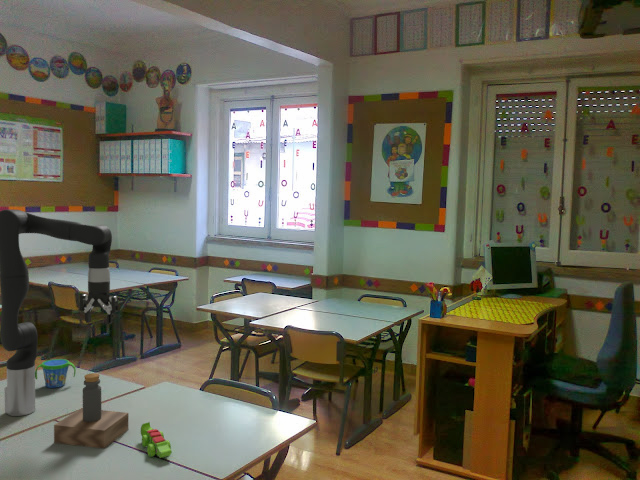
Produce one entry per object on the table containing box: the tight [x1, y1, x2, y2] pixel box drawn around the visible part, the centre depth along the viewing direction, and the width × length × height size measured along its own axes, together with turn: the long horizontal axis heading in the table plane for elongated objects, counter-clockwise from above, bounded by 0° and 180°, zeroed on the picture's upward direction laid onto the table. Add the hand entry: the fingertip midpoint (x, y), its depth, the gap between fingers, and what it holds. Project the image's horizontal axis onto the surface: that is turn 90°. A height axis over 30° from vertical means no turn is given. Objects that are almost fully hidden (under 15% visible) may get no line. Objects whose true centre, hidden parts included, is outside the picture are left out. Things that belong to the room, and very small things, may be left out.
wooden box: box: [53, 407, 129, 449], centre depth 186 cm, size 18×15×6 cm
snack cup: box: [35, 358, 77, 389], centre depth 233 cm, size 16×10×10 cm
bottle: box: [82, 372, 102, 422], centre depth 185 cm, size 6×6×15 cm
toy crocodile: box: [140, 421, 172, 459], centre depth 178 cm, size 20×7×6 cm, turn 32°
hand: (99, 323), depth 203 cm, fingers open, 8 cm apart
